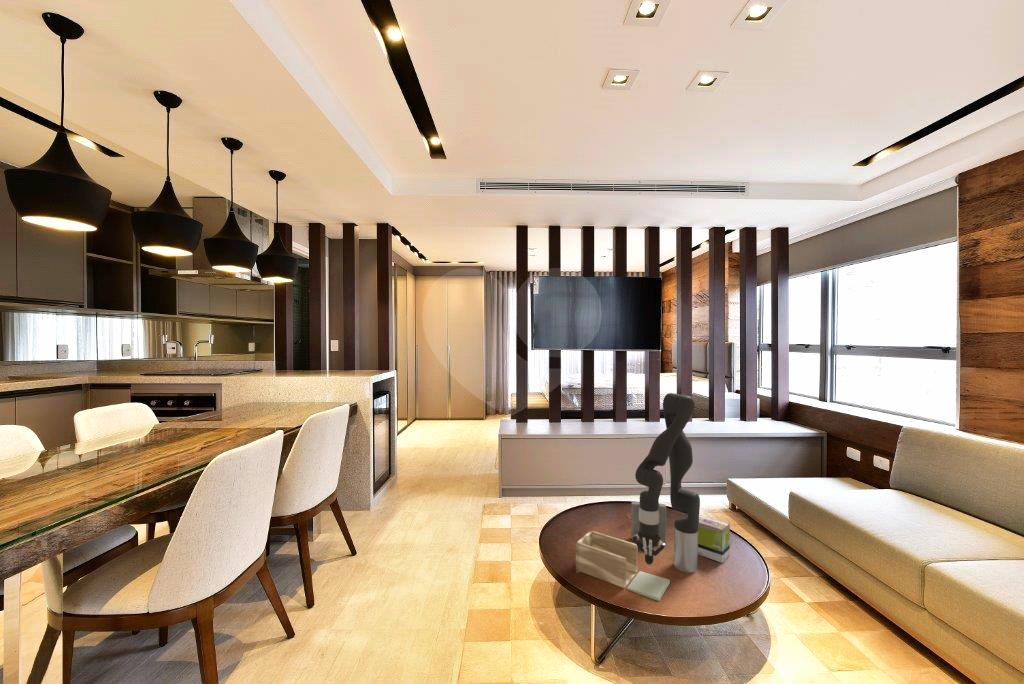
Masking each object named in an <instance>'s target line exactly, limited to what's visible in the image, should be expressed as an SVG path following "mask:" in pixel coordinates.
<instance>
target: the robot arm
mask: <svg viewBox="0 0 1024 684" xmlns="http://www.w3.org/2000/svg"><path fill="white" fill-rule="evenodd" d="M695 403H696V402H695V400H694V398H693V397H692V396H690V395H685V394H679V393H675V392H674V393H673V392H669V393H666V394H665V396H664V397H663V400H662V411H663V417H664V424H665V427H666V429H665V430H663V431H662V432H661V433H659V435H658V436H656V438H655V439H654V441H653V443H652V444H651V447H650V450H649V452H648V454H647V455H646V457H645V458H644V459H643V460H642V461H641V462H640V464H639V465H638V466H637V468H636V470H635V474H634V476H635V481H636V482H637V483H638V484H640V485H642V486H644V487H646V488H648V490H643V491H641V492H640V494H639V502H640V509H639V532H638V534H637V535H636V534H635V535H634V536H633V540H632V541H633V543H634V544H636V545H637V546H638V549H639V551H640V552H642V553H644V562H645V563H646V565H650V566H652V564H653V563H654V556H655V557H656V556H657V555H658V554H660V553H661V551H663V550H664V549H665V548H666V547H667V542H666V543H663V542H662V541H661V538H660V536H659V504H660V503H659V499H660V495H661V492H662V489H663V485H664V477H663V474H662V473H661V472H660V471H659V470H656V469H655V468H656V467H664V466H665V465H666V464H667V461H668V460H669V475H670V486H669V487H670V489H669V491H670V493H669V494H670V496H669V500H670V505H671V508H672V509H673V510H674V511H677V512H680V513H684V514H686V515H687V516H685V517H684V516H683V517H678V518H676V519H675V520H674V524H673V525H674V527H673V528H674V530H673V531H674V534H673V537H674V538H673V540H674V541H673V543H674V545H673V547H674V548H673V549H674V550H673V566H674V567H675V569H677V570H678V571H680V572H684V573H688V574H692V573H693V574H694V573H696V572H698V568H699V567H698V566H699V565H698V564H699V554H698V525H699V515H700V509H701V508H700V507H701V499H700V495H699V494H698V492H695V491H692V490H688V489H684V488H682V481H683V478H684V477H685V475H686V474H687V473H688V471H689V470H690V469H691V468H692V465H693V461H694V460H693V448H692V444H691V442H690V440H689V438H688V437H687V435H686V433H685V432H684V429H685V427H686V426H687V425H688V422H689V421H690V419H691V418H692V416H693V414H694V411H695V407H696V406H695V405H696V404H695ZM640 539H641V540H640ZM657 545H658V547H657V548H655V547H656V546H657Z"/></svg>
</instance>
